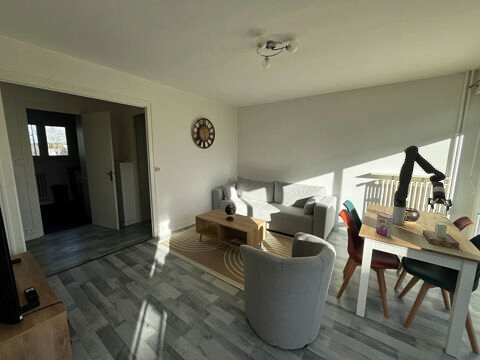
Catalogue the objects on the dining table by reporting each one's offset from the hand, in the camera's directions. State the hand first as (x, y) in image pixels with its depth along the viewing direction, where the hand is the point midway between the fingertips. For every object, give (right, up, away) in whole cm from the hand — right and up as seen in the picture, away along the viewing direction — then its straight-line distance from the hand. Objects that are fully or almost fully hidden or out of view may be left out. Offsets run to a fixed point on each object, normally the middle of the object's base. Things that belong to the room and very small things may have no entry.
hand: (440, 209), depth 165 cm
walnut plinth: (-6, -24, -5) cm, 25 cm away
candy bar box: (-41, -22, +7) cm, 47 cm away
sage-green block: (-6, -20, -5) cm, 21 cm away
